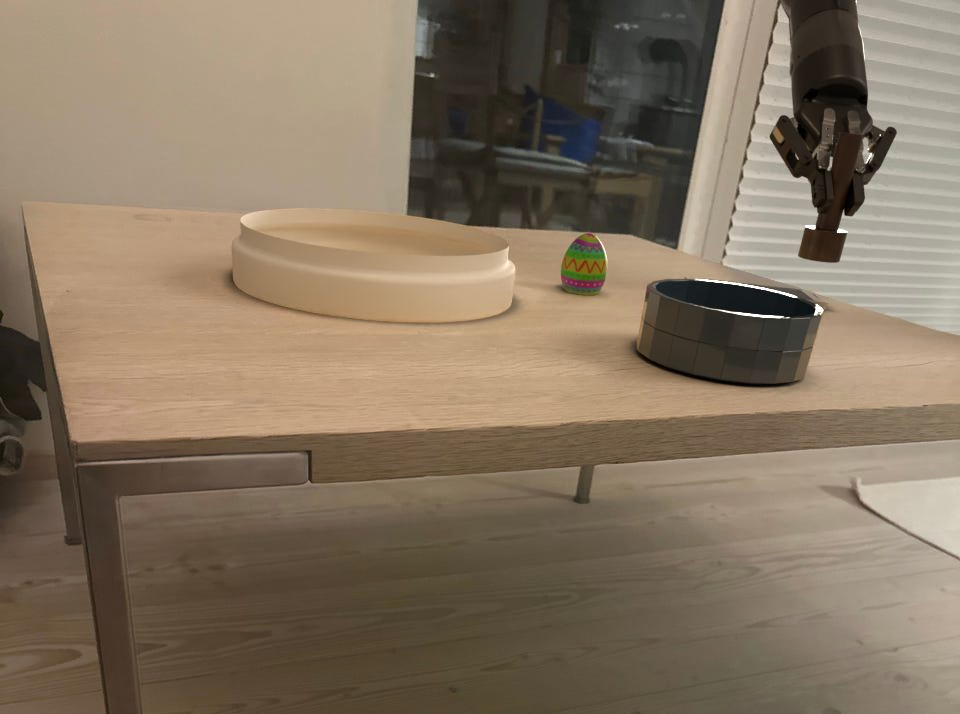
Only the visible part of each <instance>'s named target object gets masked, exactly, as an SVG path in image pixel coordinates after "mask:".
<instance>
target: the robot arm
mask: <svg viewBox="0 0 960 714" xmlns="http://www.w3.org/2000/svg"><path fill="white" fill-rule="evenodd" d="M779 2H780V4H781V8H782V9H783V12H784V13H785V15H786V16H787V19H788V30H789V41H790V43H789V44H790V53H789V77H790V90H791V102H792V113H793V114H792V115H793V117H789V116H788V115H785V114H781V115H780V116H779V117H778V119H777V121H776V123H775V125H773V128H772V130H771V132H770V133H769V140H770V141H771V143H772V144H773V146H774V148H775V149H776V151H777V153H778V155H779V156H780V158H781V159H782V161H783V163H784V164H785V166H786V167H787V169H788V171H789V173H790V174H791V176H792V177H793V178H795V179H800V178H805V179H807V182H808V183H809V184H810V193H811V203H812V206H813V208H814V209H815V208H816V213H817V214H818V213H820V214H825V213H826V212H827V211H828V209H829V208H830V206H831V205H832V203H833V199H834V197H833V185H832V174H831V171H830V169H829V168H830V166H831V163H830V162H831V158H833V155H834V151H835V147H836V143H837V139H838V136H839V132H846V133H855V134H863V135H864V136H863V140H862V143H861V147H860V151H859V154H858V158H857V162H856V166H855V169H854V173H853V177H852V180H851V184H850V188H849V191H848V195H847V199H846V203H845V206H844V210H843V215H844V217H850V218H851V217H854V216H855V214H856V212H858V211H859V209H860V208H861V207H862V205H863V204H864V203H865V200H866V192H865V186H866V185H869V183H870V182H871V180H872V178H873V177H874V176H875V174H876V173H877V172H878V171H879V170H880V168H881V167H882V165H883V163H884V161H885V159H886V157H887V155H888V153H889V151H890V148H891V147H892V145H893V142H894V140H895V138H896V136H897V134H898V131H897V129H896V128H895V127H893V126H888V127H886V129H885V130H884V129H881V128H880V127H878V126H876V125H874V121H873V118H872V115H871V114H870V113H869V111H868V102H869V87H868V79H867V78H868V77H867V69H866V59H865V49H864V47H865V46H864V41H863V37H862V33H861V29H860V25H859V14H858V7H857V6H858V5H857V0H779ZM864 139H866V140H867V143H868V144H867V147H868V149H867V152H868V153H869V156H868V158H867V160H866V162H865V159H864V155H863V152H864V149H865V145H864ZM828 169H829V170H828Z"/></svg>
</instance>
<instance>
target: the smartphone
mask: <svg viewBox="0 0 960 714" xmlns="http://www.w3.org/2000/svg"><path fill="white" fill-rule="evenodd" d="M684 279H699V280H712V281H721V282H729V283H737V284H743V285H749V286H755V287H760V288H764V289H769V290H773V291H778V292H782V293H786V294H789V295H793V296H796V297H800V298H803V299H805V300H807V301H810V302H812V303H814V304H817V305H818V306H819V307H820V308H822V309H823V310H824V311H825V310H827V307H828V303H829V302H828V301H827V300H825V299H824V298H823V297H821V296H820V295H818V294H817V293H816V292H815V291H812V290H808V289H801V288H800V289H799V288H790V287H782V286H773V285H765V284H756V283H746V282H738V281H731V280H730V281H729V280H721V279H720V280H719V279H711V278H702V277H694V276H684Z"/></svg>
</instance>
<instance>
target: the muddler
mask: <svg viewBox="0 0 960 714" xmlns="http://www.w3.org/2000/svg"><path fill="white" fill-rule="evenodd" d="M863 136H864V135H863V134H855V133H846V132H839V136H838V139H837V143H836V147H835V151H834V155H833V157H832V159H831V163H830V166H829V171H831V174H832V185H833V197H834V199H833V203H832V205H831V206H830V208H829V209H828V211H827V212H826V213H825V214H820V213H817V217H816V221H815V225H805V227H804V229H803V234H802V238H801V241H800V245H799V249H798V253H797V257H798V258H800V259H803V260H808V261H813V262H820V263H828V264H837V263H839V262H840V261H841V257H842V254H843V251H844V245H845V243H846V241H847V236H848V231H846V230H844V229H840V225H841V221H842V217H843V215H844V206H845V203H846V199H847V195H848V191H849V188H850V184H851V180H852V177H853V173H854V169H855V166H856V162H857V158H858V154H859V151H860V147H861V143H862V140H863V141H864V139H863Z"/></svg>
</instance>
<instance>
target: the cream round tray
mask: <svg viewBox="0 0 960 714" xmlns="http://www.w3.org/2000/svg"><path fill="white" fill-rule="evenodd" d="M239 221H240V234H239V235H237V236H236V237H235V238H234V239H233V240H232V242H231V265H232V269H231V270H232V280H233V283H234V285H235V286H236V288H238V289H239V290H240V291H242V292H243V293H245V294H247V295H249V296H250V297H253V298H256V299H258V300H261V301H263V302H266V303H270V304H273V305H277V306H279V307H285V308H288V309H292V310H297V311H302V312H306V313H312V314H318V315H322V316H323V315H324V316H330V317H336V318H344V319H345V318H346V319H353V320H363V321H373V322H387V323H388V322H389V323H411V324H415V323H418V324H419V323H420V324H421V323H422V324H423V323H424V324H427V323H428V324H429V323H435V324H436V323H457V322H466V321H467V322H468V321H475V320H481V319H486V318H491V317H494V316H497V315H499V314H502V313H504V312H505V311H507V310H509V308H510V307H511V306H512V303H513V296H514V287H515V286H514V285H515V278H516V277H515V276H516V266H515V264H514V263H513V262H512V261H511V260H510V259H509V249H510V242H509V241H508V240H507V239H506V238H504V237H502V236H501V235H498V234H496V233H494V232H491V231H487V230H484V229H481V228H478V227H473V226H470V225H465V224H460V223H456V222H451V221H446V220H440V219H435V218H428V217H421V216H415V215H407V214H399V213H390V212H382V211H381V212H380V211H372V210H371V211H370V210H358V209H344V208H343V209H342V208H318V207H317V208H316V207H315V208H314V207H313V208H312V207H311V208H310V207H308V208H307V207H306V208H303V207H302V208H300V207H297V208H276V209H265V210H258V211H252V212H249V213H246V214H244V215H243V216H241V217H240V220H239Z"/></svg>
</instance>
